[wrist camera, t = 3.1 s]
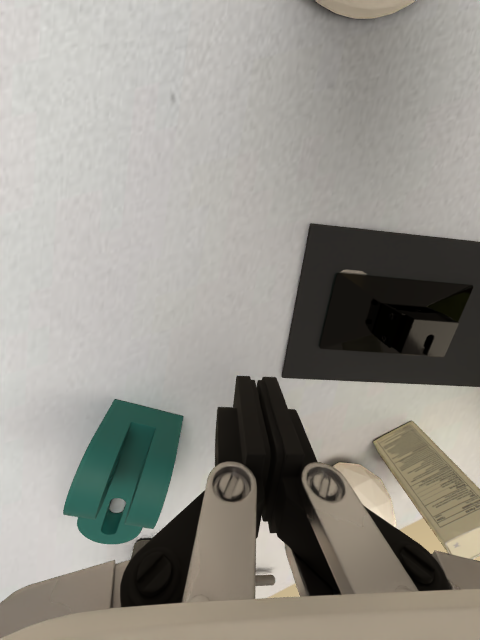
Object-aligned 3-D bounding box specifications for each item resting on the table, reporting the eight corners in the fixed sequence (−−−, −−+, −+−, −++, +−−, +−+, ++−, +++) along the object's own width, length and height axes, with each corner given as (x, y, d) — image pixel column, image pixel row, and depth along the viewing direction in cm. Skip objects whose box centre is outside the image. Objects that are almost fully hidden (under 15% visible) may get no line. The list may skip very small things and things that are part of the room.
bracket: (114, 399, 25) (71, 474, 18) (183, 416, 26) (169, 492, 19) (82, 517, 31) (39, 610, 24) (139, 526, 32) (116, 617, 25)
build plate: (317, 346, 24) (337, 374, 20) (335, 268, 22) (363, 281, 17) (440, 354, 25) (484, 383, 21) (472, 281, 23) (530, 296, 18)
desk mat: (310, 223, 20) (311, 223, 20) (576, 252, 23) (580, 252, 23) (281, 376, 25) (282, 377, 25) (501, 386, 28) (504, 388, 28)
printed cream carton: (384, 462, 31) (454, 569, 22) (370, 439, 29) (440, 544, 20) (425, 442, 30) (517, 544, 21) (414, 418, 29) (507, 516, 19)
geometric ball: (313, 455, 34) (290, 500, 27) (374, 442, 29) (366, 490, 23) (343, 514, 33) (328, 575, 26) (411, 508, 28) (415, 580, 22)
